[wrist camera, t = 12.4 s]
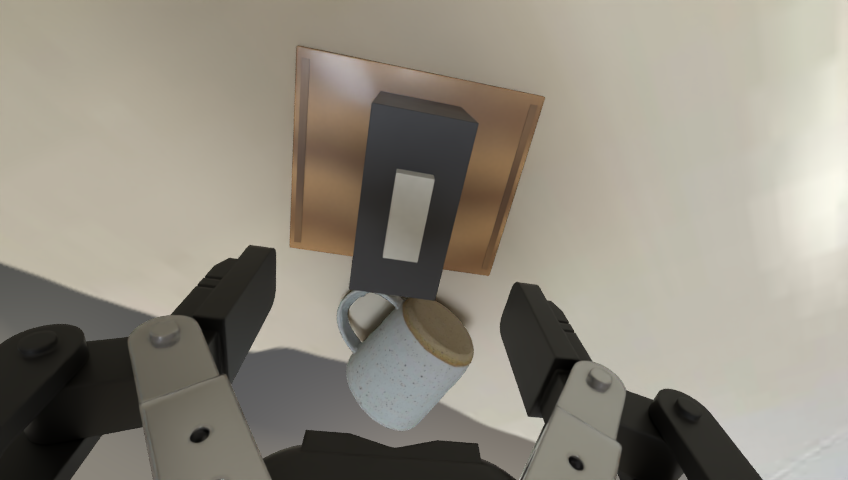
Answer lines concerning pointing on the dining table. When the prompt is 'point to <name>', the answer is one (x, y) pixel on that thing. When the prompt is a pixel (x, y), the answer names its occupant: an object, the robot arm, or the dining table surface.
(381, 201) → the tissue box
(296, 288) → the dining table surface
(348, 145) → the wooden cutting board
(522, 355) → the robot arm
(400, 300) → the ceramic mug
